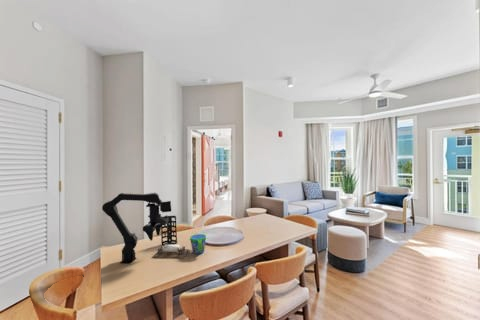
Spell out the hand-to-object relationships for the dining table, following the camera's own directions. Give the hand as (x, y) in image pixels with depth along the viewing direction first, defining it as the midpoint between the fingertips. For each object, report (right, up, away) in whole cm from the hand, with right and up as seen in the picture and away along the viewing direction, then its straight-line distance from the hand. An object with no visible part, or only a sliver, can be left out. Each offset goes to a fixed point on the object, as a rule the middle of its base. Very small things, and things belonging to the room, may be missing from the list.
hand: (154, 237), depth 136 cm
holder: (+2, -12, +22) cm, 25 cm away
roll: (+10, -10, +3) cm, 14 cm away
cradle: (+10, -12, +3) cm, 16 cm away
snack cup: (+27, -12, +6) cm, 30 cm away
